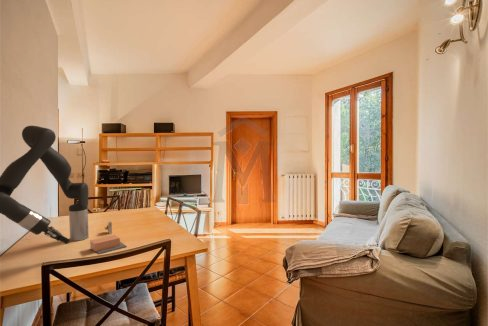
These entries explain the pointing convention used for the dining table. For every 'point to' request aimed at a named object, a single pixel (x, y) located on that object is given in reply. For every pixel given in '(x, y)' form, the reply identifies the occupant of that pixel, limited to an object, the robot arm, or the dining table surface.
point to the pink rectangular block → (104, 243)
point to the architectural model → (109, 227)
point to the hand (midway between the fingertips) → (68, 242)
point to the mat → (112, 248)
